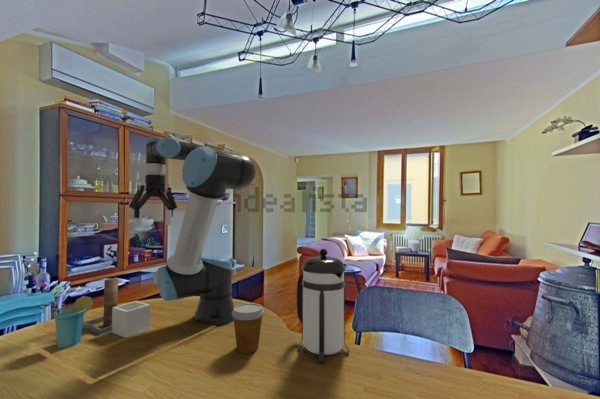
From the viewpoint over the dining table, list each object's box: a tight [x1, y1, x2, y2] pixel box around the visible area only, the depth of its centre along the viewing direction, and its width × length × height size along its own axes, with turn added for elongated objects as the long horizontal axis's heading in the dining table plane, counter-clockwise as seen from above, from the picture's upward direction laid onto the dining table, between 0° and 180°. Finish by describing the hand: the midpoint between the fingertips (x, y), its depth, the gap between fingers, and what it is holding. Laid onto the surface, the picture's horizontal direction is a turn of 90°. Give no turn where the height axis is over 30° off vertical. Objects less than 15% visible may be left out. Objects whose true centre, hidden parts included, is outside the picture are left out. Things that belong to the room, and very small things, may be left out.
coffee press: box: [296, 248, 350, 365], centre depth 86 cm, size 17×16×30 cm
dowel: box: [102, 278, 119, 328], centre depth 101 cm, size 4×4×16 cm
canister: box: [111, 300, 151, 338], centre depth 96 cm, size 8×8×9 cm
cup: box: [38, 295, 95, 349], centre depth 86 cm, size 14×8×15 cm, turn 161°
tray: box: [82, 316, 112, 336], centre depth 101 cm, size 12×12×2 cm
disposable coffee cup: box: [232, 302, 265, 354], centre depth 87 cm, size 10×10×12 cm
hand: (154, 225), depth 121 cm, fingers open, 13 cm apart
